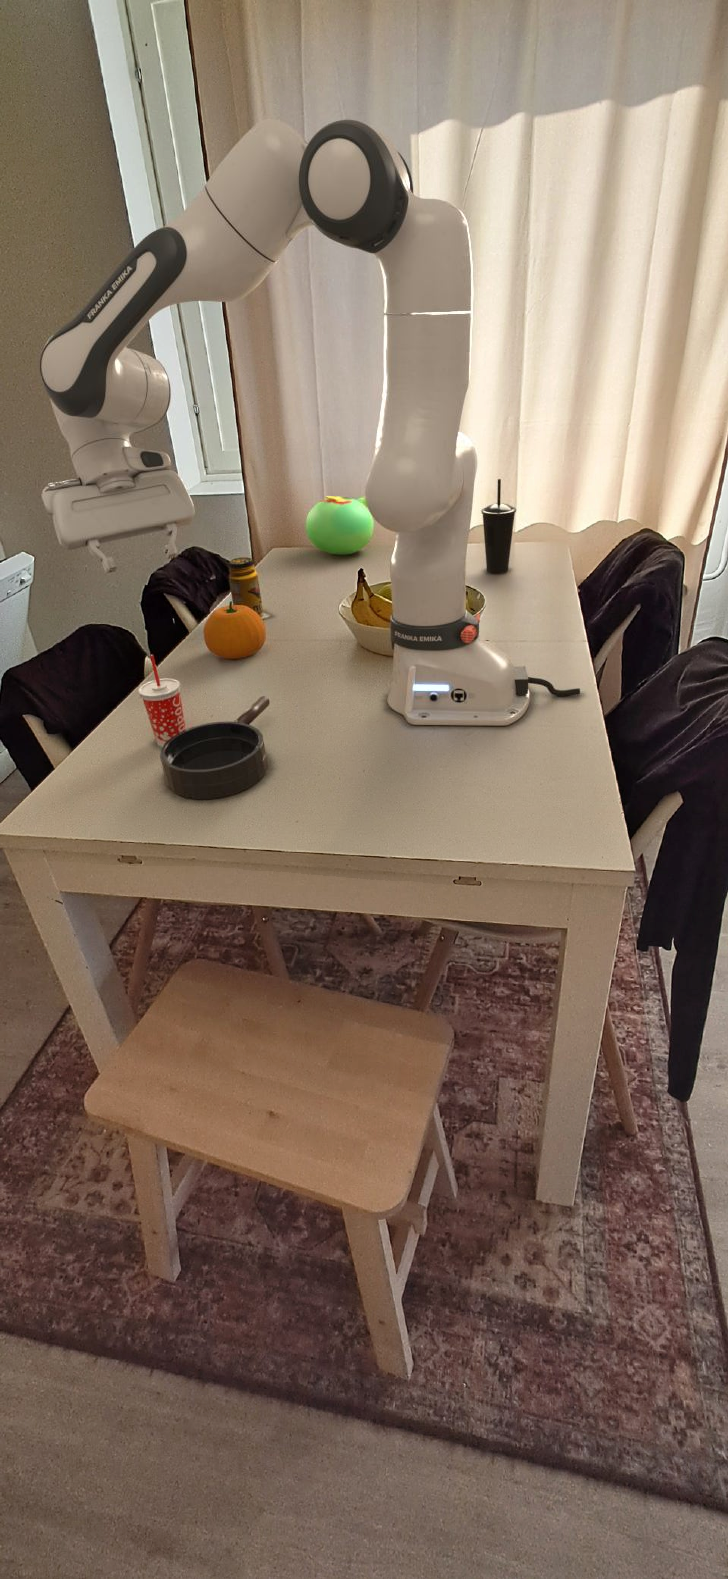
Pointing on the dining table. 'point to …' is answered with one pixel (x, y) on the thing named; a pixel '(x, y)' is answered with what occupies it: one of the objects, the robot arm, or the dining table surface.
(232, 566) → the condiment
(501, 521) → the drinking cup
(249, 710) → the skillet handle
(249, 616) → the fruit
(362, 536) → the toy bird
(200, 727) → the skillet
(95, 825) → the dining table surface
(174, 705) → the beverage cup
